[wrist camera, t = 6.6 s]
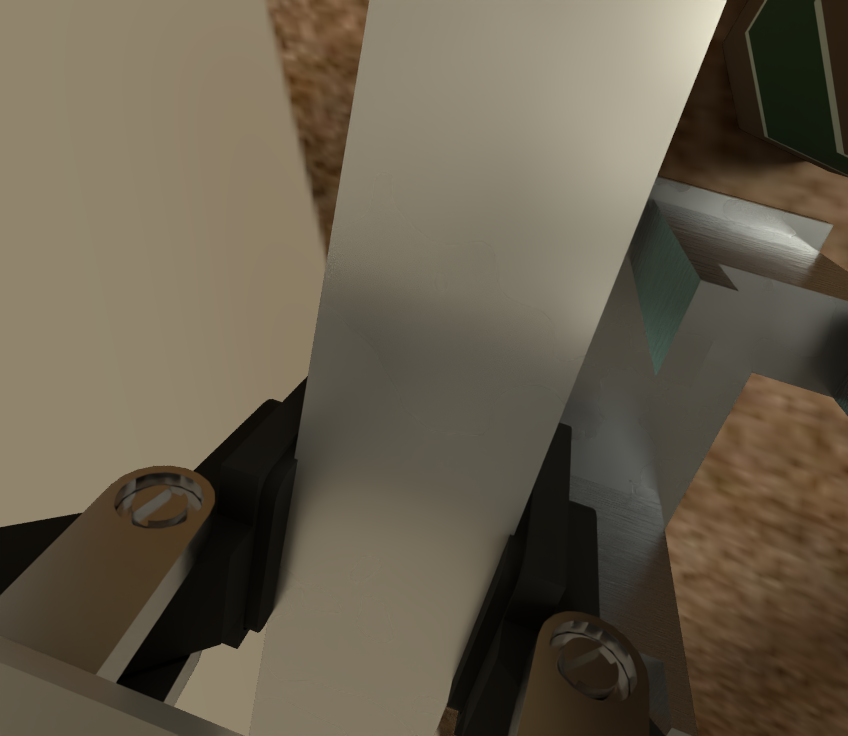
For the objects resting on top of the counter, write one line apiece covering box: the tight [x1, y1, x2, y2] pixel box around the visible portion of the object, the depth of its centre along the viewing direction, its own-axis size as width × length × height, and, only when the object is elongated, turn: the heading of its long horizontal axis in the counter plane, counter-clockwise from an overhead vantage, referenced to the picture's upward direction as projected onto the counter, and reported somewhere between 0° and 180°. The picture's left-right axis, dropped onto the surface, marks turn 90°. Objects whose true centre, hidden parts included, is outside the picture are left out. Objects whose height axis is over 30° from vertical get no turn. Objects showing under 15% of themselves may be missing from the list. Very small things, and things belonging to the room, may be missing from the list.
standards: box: [559, 175, 848, 736], centre depth 21 cm, size 7×17×12 cm, turn 167°
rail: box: [249, 0, 727, 736], centre depth 10 cm, size 3×17×3 cm, turn 166°
